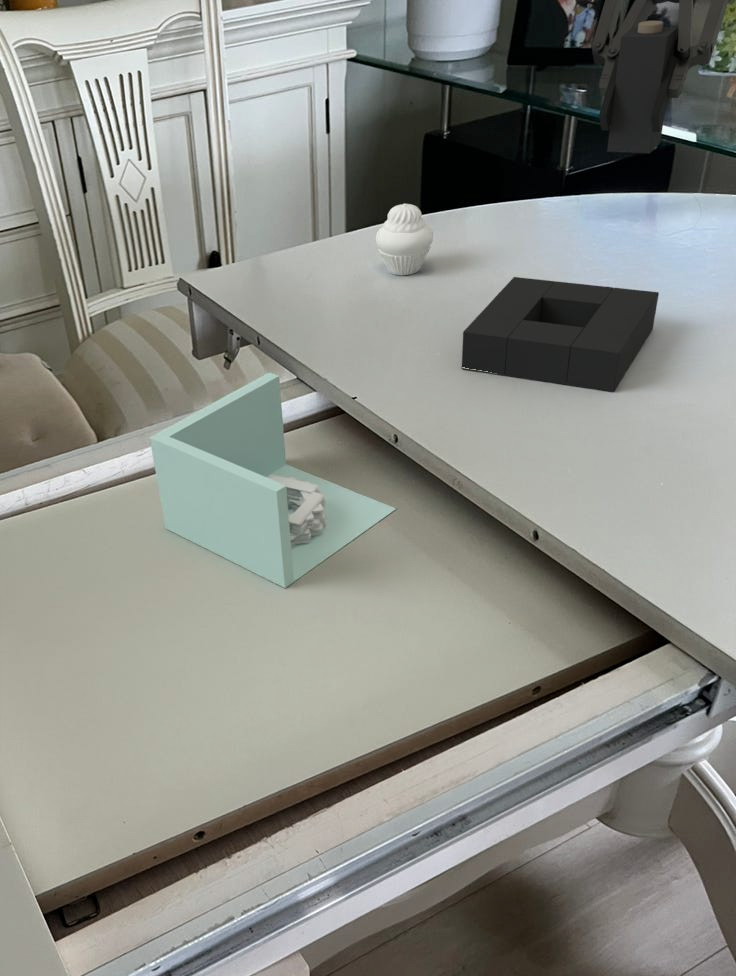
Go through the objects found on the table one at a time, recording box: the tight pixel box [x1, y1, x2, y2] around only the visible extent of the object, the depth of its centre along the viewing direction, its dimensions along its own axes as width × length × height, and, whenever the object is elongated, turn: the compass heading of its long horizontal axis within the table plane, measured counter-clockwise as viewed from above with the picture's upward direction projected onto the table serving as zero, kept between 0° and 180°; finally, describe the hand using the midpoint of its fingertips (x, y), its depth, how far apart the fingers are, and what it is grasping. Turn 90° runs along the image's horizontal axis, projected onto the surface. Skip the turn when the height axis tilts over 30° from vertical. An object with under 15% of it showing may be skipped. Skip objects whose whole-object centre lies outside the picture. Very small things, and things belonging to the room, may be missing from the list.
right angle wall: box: [149, 372, 397, 589], centre depth 71 cm, size 12×12×8 cm
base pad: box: [461, 276, 660, 393], centre depth 89 cm, size 13×13×4 cm
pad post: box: [606, 20, 678, 154], centre depth 106 cm, size 5×5×12 cm
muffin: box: [375, 202, 434, 276], centre depth 106 cm, size 6×6×7 cm
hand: (629, 123), depth 105 cm, fingers closed on pad post, 5 cm apart
